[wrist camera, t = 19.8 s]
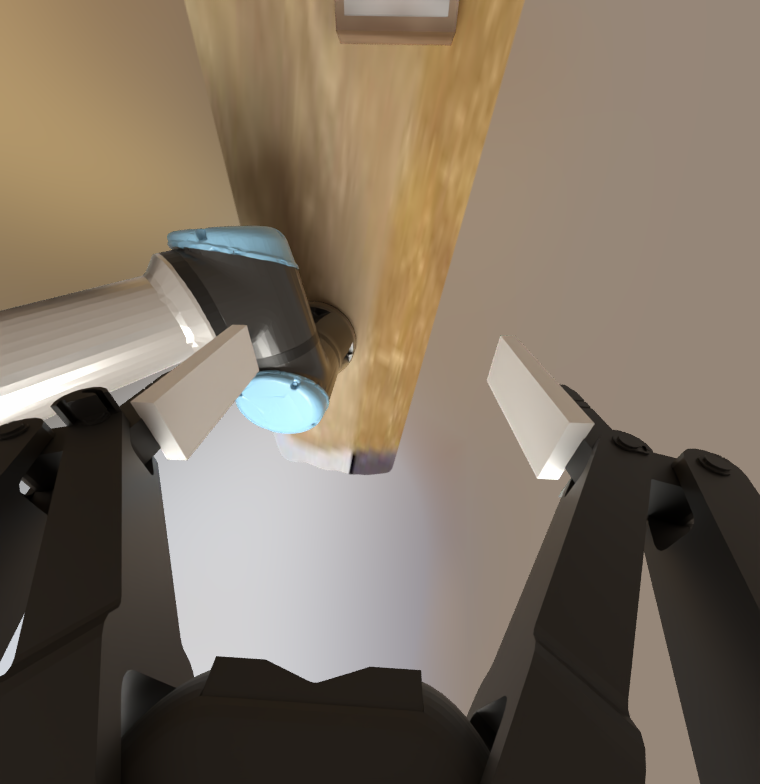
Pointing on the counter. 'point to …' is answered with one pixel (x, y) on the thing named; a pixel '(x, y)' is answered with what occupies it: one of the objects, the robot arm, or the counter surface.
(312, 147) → the counter surface
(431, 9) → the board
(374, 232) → the counter surface
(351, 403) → the counter surface
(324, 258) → the counter surface
